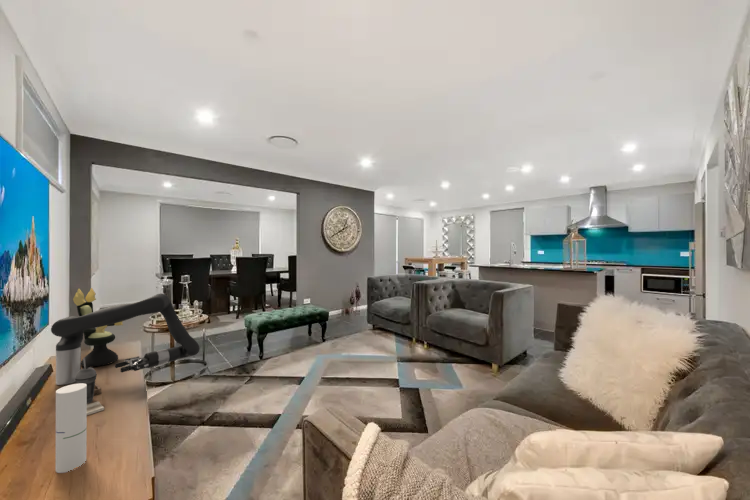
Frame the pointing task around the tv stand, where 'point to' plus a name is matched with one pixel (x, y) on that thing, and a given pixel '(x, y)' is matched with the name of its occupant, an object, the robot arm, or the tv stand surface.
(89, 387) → the beverage cup
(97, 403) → the ash board
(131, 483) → the tv stand surface
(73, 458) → the cylindrical container
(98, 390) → the marble tray
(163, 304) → the robot arm
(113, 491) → the tv stand surface
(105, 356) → the black yellow plant sculpture
